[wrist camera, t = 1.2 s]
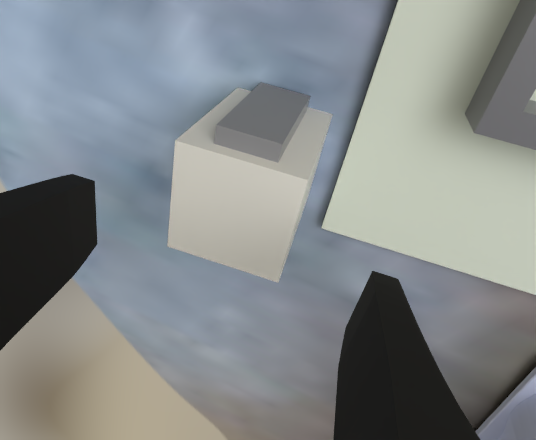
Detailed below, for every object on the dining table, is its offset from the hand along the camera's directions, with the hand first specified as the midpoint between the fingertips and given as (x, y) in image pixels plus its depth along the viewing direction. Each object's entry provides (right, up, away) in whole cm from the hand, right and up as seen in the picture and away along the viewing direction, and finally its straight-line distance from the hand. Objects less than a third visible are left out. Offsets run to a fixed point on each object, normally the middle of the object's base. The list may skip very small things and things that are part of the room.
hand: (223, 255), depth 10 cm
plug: (+1, +4, +7) cm, 9 cm away
